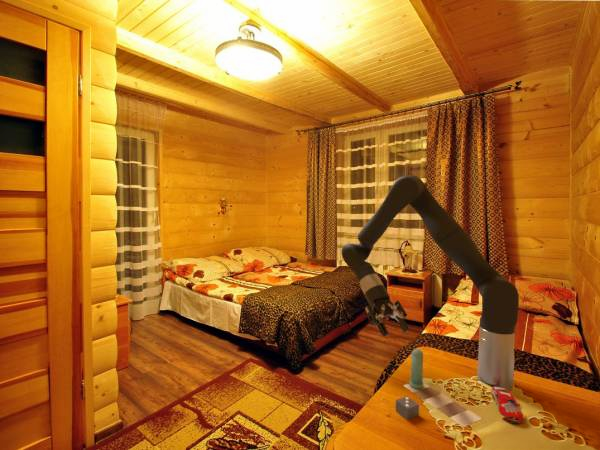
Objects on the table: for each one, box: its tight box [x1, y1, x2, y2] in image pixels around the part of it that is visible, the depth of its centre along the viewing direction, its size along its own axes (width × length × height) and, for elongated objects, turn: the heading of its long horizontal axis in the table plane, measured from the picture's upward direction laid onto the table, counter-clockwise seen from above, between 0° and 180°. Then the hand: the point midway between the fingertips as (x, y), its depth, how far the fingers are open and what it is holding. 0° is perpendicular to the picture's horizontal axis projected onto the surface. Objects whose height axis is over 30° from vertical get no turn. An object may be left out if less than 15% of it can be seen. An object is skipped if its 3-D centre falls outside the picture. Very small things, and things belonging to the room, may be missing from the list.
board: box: [403, 381, 483, 428], centre depth 85 cm, size 8×20×1 cm, turn 27°
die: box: [395, 395, 420, 421], centre depth 80 cm, size 4×4×4 cm
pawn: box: [409, 348, 424, 391], centre depth 92 cm, size 4×4×11 cm
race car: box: [490, 387, 525, 425], centre depth 84 cm, size 13×5×4 cm, turn 160°
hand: (396, 333), depth 99 cm, fingers open, 8 cm apart
